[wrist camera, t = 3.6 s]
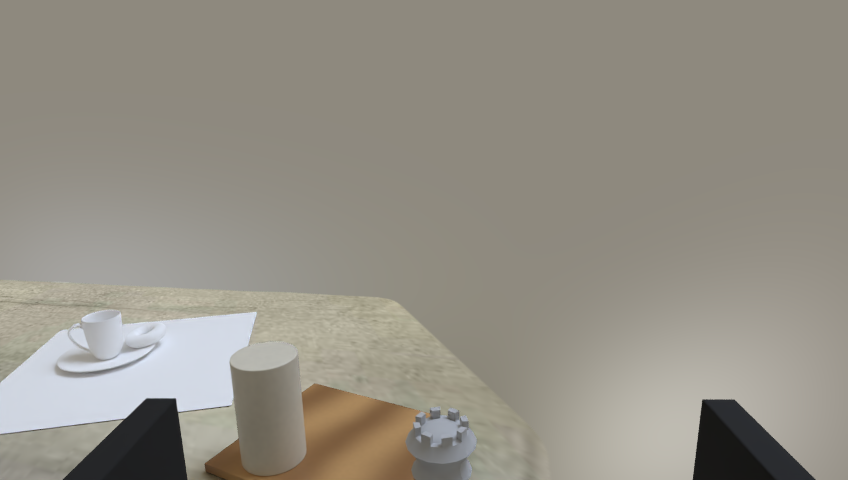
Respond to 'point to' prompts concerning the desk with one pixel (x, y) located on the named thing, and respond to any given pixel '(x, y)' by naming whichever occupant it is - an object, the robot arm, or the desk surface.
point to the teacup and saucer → (123, 369)
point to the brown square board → (340, 441)
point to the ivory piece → (268, 407)
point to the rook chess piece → (441, 446)
